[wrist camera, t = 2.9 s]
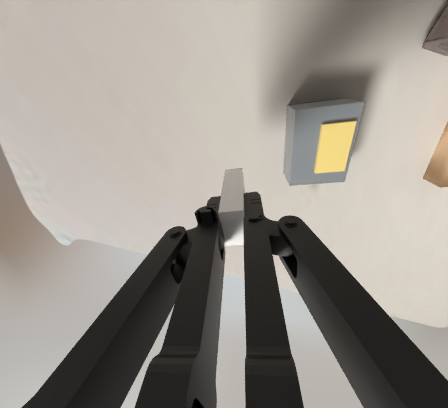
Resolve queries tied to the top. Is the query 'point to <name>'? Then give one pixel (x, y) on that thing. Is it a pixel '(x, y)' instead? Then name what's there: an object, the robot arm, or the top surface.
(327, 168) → the block
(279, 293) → the robot arm
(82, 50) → the top surface
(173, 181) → the top surface
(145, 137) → the top surface
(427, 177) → the board
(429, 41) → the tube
